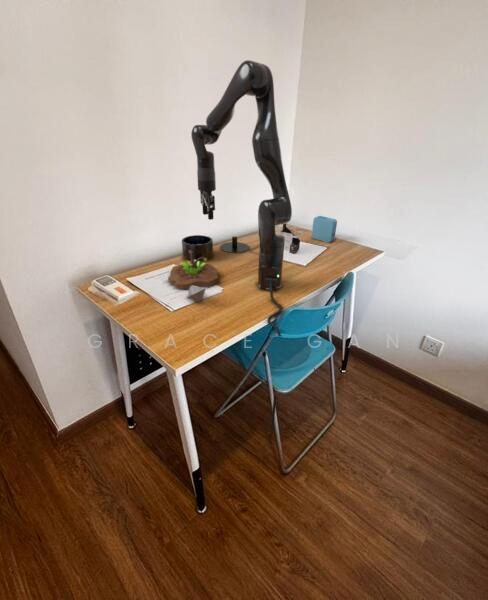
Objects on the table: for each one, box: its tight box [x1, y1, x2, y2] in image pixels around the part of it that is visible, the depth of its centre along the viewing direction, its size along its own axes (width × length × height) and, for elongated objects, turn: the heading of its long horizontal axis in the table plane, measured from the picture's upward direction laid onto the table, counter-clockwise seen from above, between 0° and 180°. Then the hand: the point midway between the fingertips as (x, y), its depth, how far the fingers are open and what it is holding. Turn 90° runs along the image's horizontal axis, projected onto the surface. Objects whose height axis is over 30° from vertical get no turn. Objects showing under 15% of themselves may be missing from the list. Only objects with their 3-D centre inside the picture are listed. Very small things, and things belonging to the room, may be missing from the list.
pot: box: [181, 234, 214, 263], centre depth 147 cm, size 14×14×8 cm
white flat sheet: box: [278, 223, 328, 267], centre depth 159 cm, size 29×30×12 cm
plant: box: [168, 250, 220, 290], centre depth 128 cm, size 20×20×11 cm
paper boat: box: [187, 285, 212, 303], centre depth 114 cm, size 12×6×9 cm
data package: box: [311, 215, 338, 244], centre depth 174 cm, size 12×4×12 cm, turn 51°
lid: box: [219, 236, 250, 254], centre depth 159 cm, size 15×15×6 cm
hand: (208, 216), depth 144 cm, fingers open, 8 cm apart
